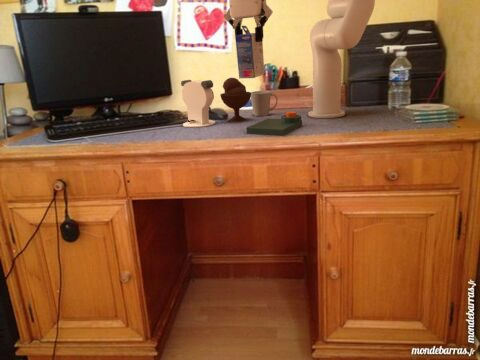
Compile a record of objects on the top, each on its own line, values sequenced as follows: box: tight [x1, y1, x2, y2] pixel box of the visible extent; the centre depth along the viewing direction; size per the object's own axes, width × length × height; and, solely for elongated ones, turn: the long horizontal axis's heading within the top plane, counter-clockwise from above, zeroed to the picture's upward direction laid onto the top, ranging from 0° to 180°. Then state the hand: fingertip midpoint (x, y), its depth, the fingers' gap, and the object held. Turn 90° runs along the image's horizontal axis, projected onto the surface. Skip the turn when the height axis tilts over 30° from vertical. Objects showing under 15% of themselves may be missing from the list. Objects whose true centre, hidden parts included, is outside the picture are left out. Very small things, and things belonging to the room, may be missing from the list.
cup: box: [250, 90, 279, 117], centre depth 145 cm, size 8×10×8 cm
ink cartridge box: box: [234, 25, 265, 80], centre depth 114 cm, size 10×6×14 cm, turn 160°
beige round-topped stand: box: [180, 79, 216, 128], centre depth 134 cm, size 12×11×15 cm
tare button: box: [285, 111, 297, 117], centre depth 121 cm, size 3×3×2 cm
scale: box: [246, 114, 303, 137], centre depth 120 cm, size 15×13×4 cm
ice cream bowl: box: [220, 77, 251, 123], centre depth 136 cm, size 11×11×15 cm
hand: (249, 41), depth 113 cm, fingers closed on ink cartridge box, 5 cm apart
